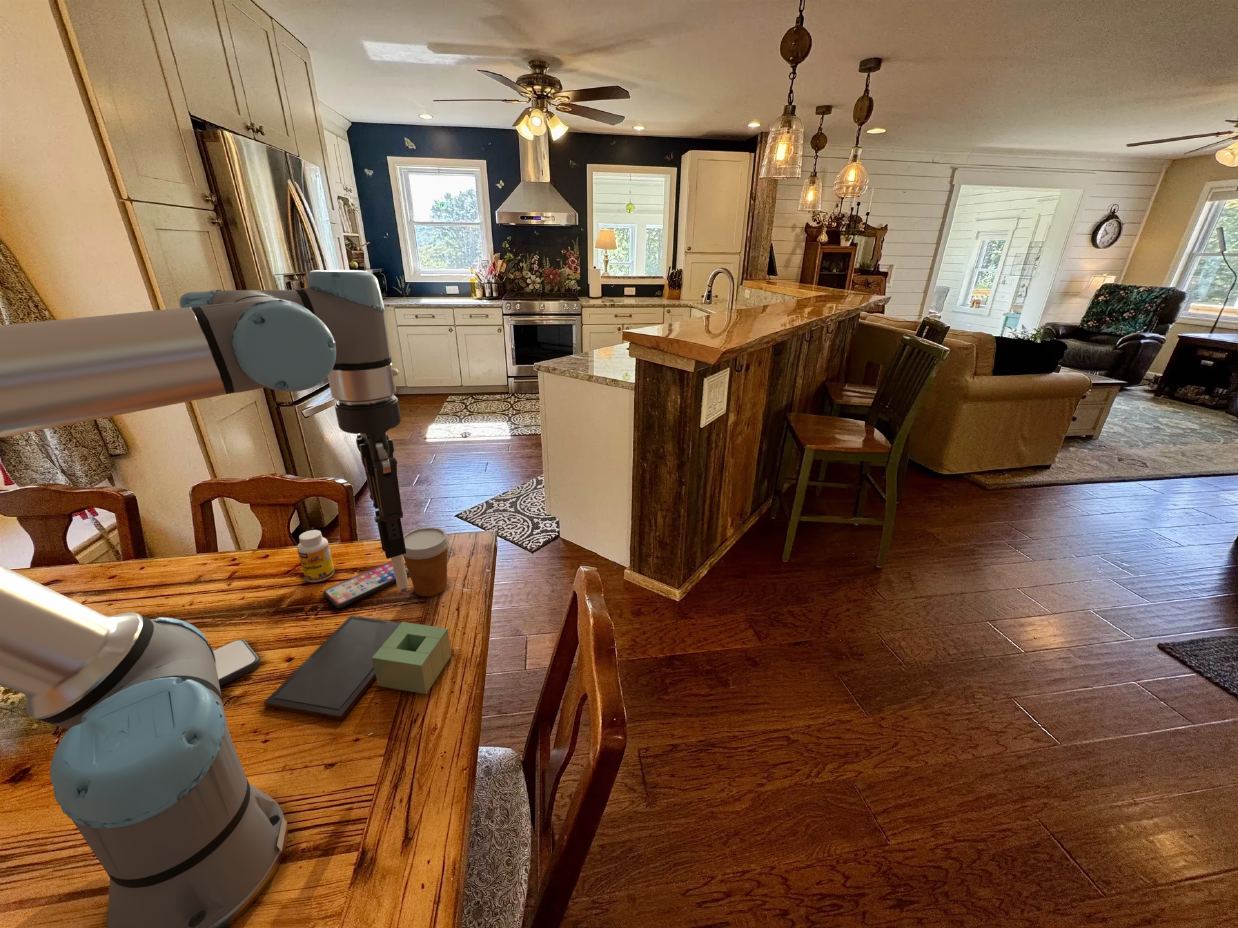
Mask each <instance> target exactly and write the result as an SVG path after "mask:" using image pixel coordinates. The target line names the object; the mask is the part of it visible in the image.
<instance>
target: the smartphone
mask: <svg viewBox="0 0 1238 928" xmlns="http://www.w3.org/2000/svg"><path fill="white" fill-rule="evenodd" d="M406 574H407V578H408V577H410V574H409V571H408V569H406ZM395 583H396V578H395V574H394V569H393V565H392V560H390V561H388V562H385V563H383V564H381V565H379V566H376V567H374V568H372V569H370V570H367V571H364V572H363V573H360V574H358V575H356V576H354V577H352V578H349V579H347V580H344V581H342V582H339V583H337V584H335V585H333V586H331V587H327V588H326V589H325V590H323V596H324V597H325V598H326V599H327V600H329V602H331V604H332V605H333V606H334V607H335V608H337V609H341V608H344V607H347V606H348V605H350V604H352V603H355V602H357V601H359V600H361V599H363V598H365V597H367V596H369V595H372V594H374V593H376V592H378V591H380V590H383V589H384V588H386V587H389V586H391V585H393V584H395Z"/></svg>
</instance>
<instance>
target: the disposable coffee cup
mask: <svg viewBox="0 0 1238 928" xmlns="http://www.w3.org/2000/svg"><path fill="white" fill-rule="evenodd" d="M403 536H404V542H405V548H406V554H403V560H404V563H405V566H406V570H408V571H409V574H410V575H409V577H410V580H411V583H412V586H413V589H414V592H415V594H416V595H418V596H420V597H434V596H436V595H439V594H441V593H442V592H444V591H445V590H446V589H447V586H448V547H449V544H450V537H449V535H448V534H447V532H446V531H445V530H444V529H442V528H440V527H434V526H425V527H419V528H415V529H413V530H410V531H408V532H407V533H405V534H403Z"/></svg>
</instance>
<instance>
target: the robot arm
mask: <svg viewBox="0 0 1238 928" xmlns="http://www.w3.org/2000/svg"><path fill="white" fill-rule="evenodd" d="M306 286H307V287H301V288H296V289H295V288H294V289H240V290H239V289H238V290H237V289H234V290H233V289H232V290H230V289H229V290H223V289H213V290H208V291H190V292H186V293H183V294H182V295H181V296H180V298H179V300H178V301H179V307H177V308H168V309H158V310H157V309H156V310H146V311H137V312H127V313H126V312H125V313H115V314H105V315H95V316H84V317H73V318H63V319H52V320H42V321H41V320H40V321H35V322H34V321H33V322H32V321H31V322H23V323H22V322H21V323H10V324H1V325H0V438H6V437H13V436H17V435H21V434H28V433H32V432H39V431H43V430H48V429H53V428H58V427H63V426H68V425H69V426H70V425H73V424H79V423H85V422H89V421H94V420H100V419H105V418H111V417H115V416H116V417H117V416H121V415H125V414H133V413H136V412H141V411H147V410H152V409H157V408H163V407H167V406H173V405H179V404H182V403H183V404H185V403H188V402H189V403H190V402H193V401H199V400H204V399H211V398H215V397H219V396H225V395H231V394H237V393H238V394H239V393H244V392H249V391H255V390H260V389H265V388H266V389H269V390H274V391H282V392H290V393H291V392H293V393H294V392H295V393H296V392H302V391H306V390H311V389H312V388H314V387H316V386H318V385H320V384H321V383H322V382H323V381H325V380H326V379H327V380H328V385H329V389H330V394H331V397H332V398H333V399H334V400H336V401H335V403H334V404H333V405H334V409H335V410H334V411H335V415H336V420H337V425H338V428H339V429H340V430H341V431H343V432H345V433H347V434H352V435H355V434H356V439H355V444H356V448H357V449H358V451H359V452H360V458H361V463H362V466H363V469H364V474H365V477H366V482H367V487H368V491H369V498H370V500H371V501H372V506H373V508H374V510H375V511H374V513H375V516H373V519H374V522H375V523H377V529H378V535H379V540H380V545H381V550H382V552H383V553H384V555H385V558H386V560H389V559H391V558H392V557H396V556H399V555H403V554H406V548H405V542H404V531H403V526H402V525H403V524H402V519H403V518H404V512H403V508H402V507H403V506H402V501H401V493H400V485H399V479H398V478H399V477H398V460H397V458H395V457H394V452H395V446H394V442H393V440H392V439H390V438H389V435H388V433H387V432H388V431H389V430H391V429H394V428H397V427H398V426H399V425H400V424H401V422H402V415H401V409H400V403H399V402H400V401H399V398H398V397H397V396H396V395H395V394H396V393H397V387H396V380H395V379H394V377H397V376H399V370H398V369H397V368H393V361H392V360H393V359H392V356H391V355H392V354H391V349H390V341H389V333H388V332H389V331H388V326H387V317H386V313H387V312H386V308H385V305H384V300H383V296H382V291H381V288H380V284H379V280H378V278H377V276H375V275H374V274H373V273H372V272H370V271H367V270H358V269H357V270H355V269H327V270H326V269H325V270H323V269H317V270H315V269H314V270H310V271H309V272H308V273H307V284H306ZM213 650H214V649H213V647H212V644H210V643H209V640H208V639H207V638H206V636H205V634H204V633H203V632H202V631H201V630H200V629H198V628H197V627H196V626H195V625H193V624H192V623H190V622H187V621H185V620H181V619H179V618H178V619H177V618H173V617H167V616H166V617H165V616H158V617H157V618H147V617H146V616H143V615H141V614H139V613H138V612H135V611H126V612H121V613H118V614H112V615H105V614H103V613H101V612H99V611H97V610H95V609H92V608H90V607H89V606H87V605H84V604H82V603H80V602H78V601H76V600H74V599H72V598H70V597H68V596H66V595H64V594H62V593H60V592H57V591H56V590H54V589H51V588H50V587H47V586H45V585H44V584H41V583H39V582H37V581H36V580H33V579H31V578H29V577H27V576H25V575H23V574H21V573H19V572H16V571H14V570H13V569H10V568H9V567H7V566H5V565H2V564H0V687H3V688H5V689H9V690H12V691H15V692H17V693H20V694H23V695H24V696H25V710H26V715H27V716H28V717H30V718H32V719H34V720H38V721H41V722H44V723H47V724H50V725H53V726H55V727H59V728H62V729H65V730H67V731H66V732H65V734H64V735H63V736H62V738H61V739H60V741H59V743H58V744H57V746H56V748H55V750H54V752H53V755H52V758H51V761H50V767H49V777H50V782H51V786H52V787H53V788H52V789H53V795H54V798H55V801H56V802H57V803H58V805H59V806H60V808H61V812H62V813H63V814H65V815H66V816H67V817H68V818H69V819H71V820H72V822H73V823H74V826H75V827H76V828H77V830H78V832H79V833H80V834H81V836H82V838H83V839H84V840H85V842H86V843H87V845H88V847H89V848H90V850H91V851H92V853H93V854H94V855H95V857H96V859H97V860H98V862H99V863H100V864H101V866H102V868H103V870H104V871H105V872H106V874H107V876H108V878H109V885H108V886H109V887H108V907H107V914H106V915H107V927H108V928H228V927H229V926H231V925H232V924H233V923H234V922H235V921H236V920H237V919H238V918H240V917H241V916H242V915H243V914H244V913H245V912H246V911H247V910H248V909H249V908H250V907H251V906H252V905H253V904H254V903H255V902H256V901H257V899H259V897H260V896H261V895H262V893H263V892H264V890H265V889H266V888H267V887H268V885H269V884H270V882H271V881H272V879H273V877H274V876H275V874H276V873H277V872H278V868H280V865H281V863H282V861H283V857H284V855H285V852H286V850H287V845H288V840H289V827H288V826H289V825H288V821H287V819H286V817H285V813H284V811H283V809H282V806H280V804H279V803H278V802H277V801H276V800H275V799H274V798H273V797H271V796H270V795H269V794H267V793H265V792H264V791H262V790H260V788H258V787H256V786H254V785H253V784H251V783H250V782H249V780H248V778H247V775H246V773H245V769H244V768H243V765H242V762H241V760H240V758H239V755H238V753H237V750H236V748H235V745H234V743H233V739H232V736H231V732H230V728H229V724H228V720H227V714H226V710H225V706H224V703H223V697H222V696H223V695H222V692H221V691H222V690H221V687H220V686H219V680H218V675H217V670H216V659H215V655H214V652H213Z"/></svg>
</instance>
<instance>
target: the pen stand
mask: <svg viewBox="0 0 1238 928" xmlns="http://www.w3.org/2000/svg"><path fill="white" fill-rule="evenodd" d="M400 623H401V624H400V625H399V626H398V627H397V629H396V630H395V631H394V632H393V633H392V634H391V636H390V637H389V638H388V639H387V640H386V642H385V643H384V644H383V645H382V647H381V648H380V649H379V650H378V651H377V652H376V653H375V655H374V656H373V657H372V661H373V665H374V670H375V674H376V679H375V680H376V682H377V687H381V688H388V689H393V690H399V691H405V692H411V693H416V694H422V695H427V694H428V693H429V691H430V689H432V687H433V685H434V684H435V682H436V680H437V679H438V677H439V675H440V674H441V673H442V671H443V669H444V668H445V666H446V665H447V663H448V662H449V660H450V659H451V657H452V649H451V641H450V634H449V628H447V627H441V626H434V625H428V624H422V623H415V622H407V621H401V622H400Z"/></svg>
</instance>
